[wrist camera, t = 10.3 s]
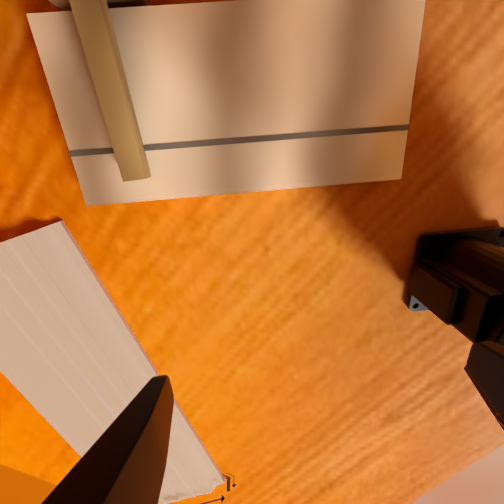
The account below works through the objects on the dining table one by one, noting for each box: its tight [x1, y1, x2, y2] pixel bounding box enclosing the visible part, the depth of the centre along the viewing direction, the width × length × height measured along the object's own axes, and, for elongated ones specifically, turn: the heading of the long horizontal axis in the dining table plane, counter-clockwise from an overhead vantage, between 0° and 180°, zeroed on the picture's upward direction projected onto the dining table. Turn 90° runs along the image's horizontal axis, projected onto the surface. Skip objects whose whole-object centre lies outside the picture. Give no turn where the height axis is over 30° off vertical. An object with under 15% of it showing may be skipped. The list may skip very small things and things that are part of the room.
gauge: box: [48, 0, 151, 182], centre depth 12 cm, size 4×13×6 cm, turn 7°
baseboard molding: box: [0, 220, 236, 504], centre depth 23 cm, size 31×3×12 cm
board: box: [26, 0, 426, 206], centre depth 15 cm, size 19×9×2 cm, turn 94°
